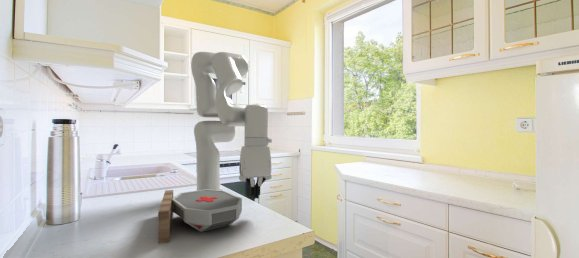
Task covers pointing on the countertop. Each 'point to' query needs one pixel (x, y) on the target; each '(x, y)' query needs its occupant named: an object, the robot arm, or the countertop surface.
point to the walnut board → (165, 217)
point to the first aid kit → (207, 208)
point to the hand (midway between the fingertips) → (255, 197)
